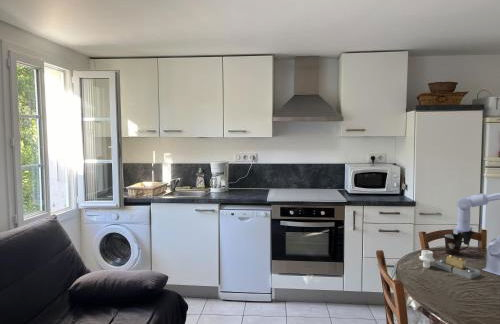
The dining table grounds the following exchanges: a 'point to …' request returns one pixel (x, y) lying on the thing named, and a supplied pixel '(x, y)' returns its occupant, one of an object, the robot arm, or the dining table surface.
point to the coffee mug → (452, 245)
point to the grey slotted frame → (457, 269)
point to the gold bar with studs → (456, 262)
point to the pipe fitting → (426, 258)
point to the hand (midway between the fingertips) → (462, 245)
